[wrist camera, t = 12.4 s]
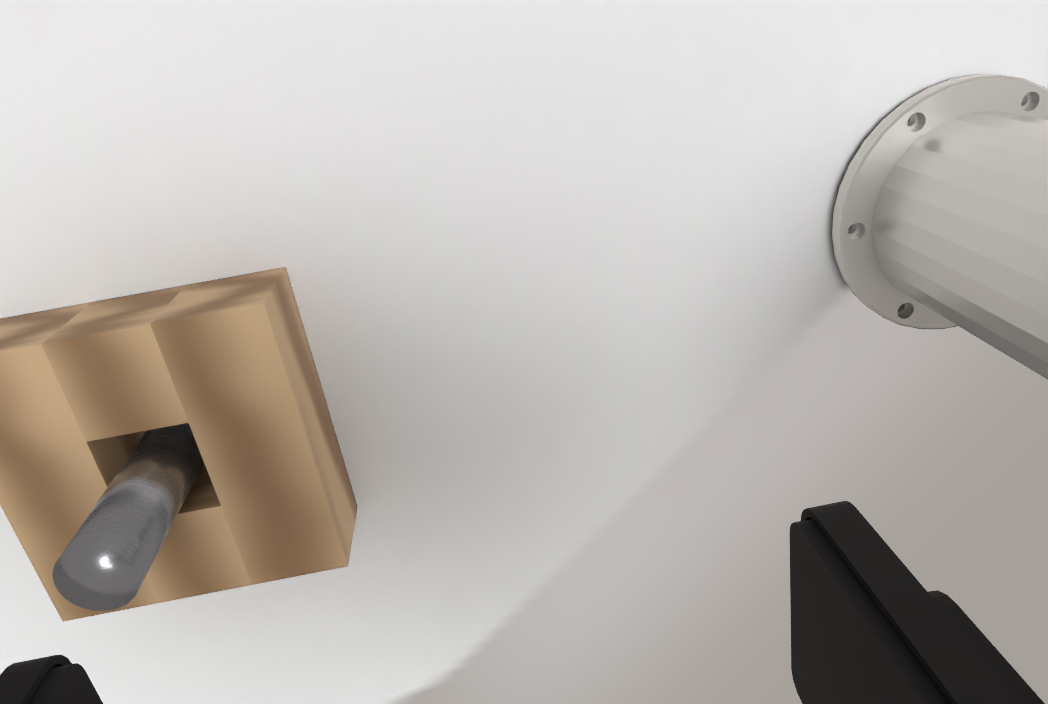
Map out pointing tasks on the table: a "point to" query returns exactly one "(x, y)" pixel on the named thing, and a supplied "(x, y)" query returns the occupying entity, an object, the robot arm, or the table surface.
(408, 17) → the table surface
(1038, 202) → the robot arm
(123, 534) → the peg
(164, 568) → the hole block
